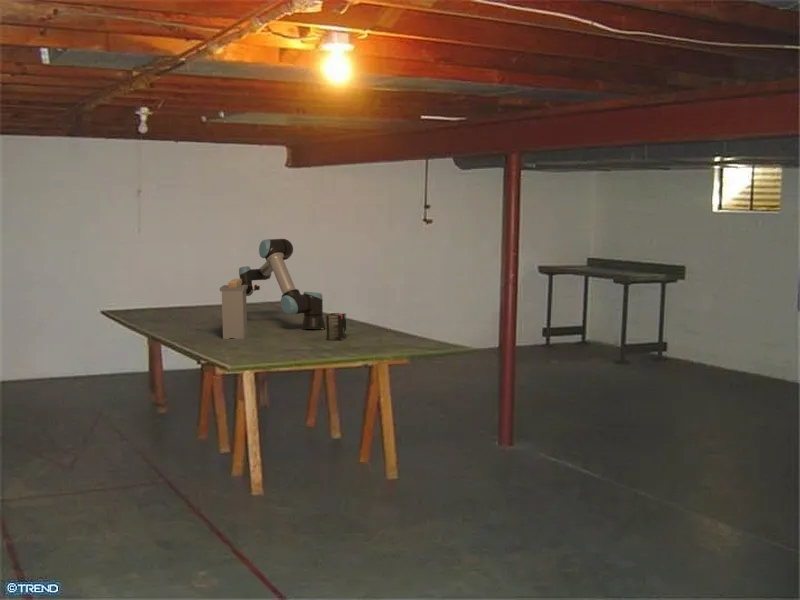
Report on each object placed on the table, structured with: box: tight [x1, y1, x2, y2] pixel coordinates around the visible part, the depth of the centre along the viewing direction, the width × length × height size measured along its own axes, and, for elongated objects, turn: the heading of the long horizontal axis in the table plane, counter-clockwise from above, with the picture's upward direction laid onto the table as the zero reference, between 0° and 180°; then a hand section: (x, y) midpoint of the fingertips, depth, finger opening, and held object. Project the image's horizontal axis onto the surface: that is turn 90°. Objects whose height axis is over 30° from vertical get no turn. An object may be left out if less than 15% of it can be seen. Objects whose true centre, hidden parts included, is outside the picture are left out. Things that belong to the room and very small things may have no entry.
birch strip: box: [227, 278, 242, 288], centre depth 533 cm, size 28×4×3 cm, turn 3°
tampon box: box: [325, 312, 347, 341], centre depth 518 cm, size 11×9×15 cm
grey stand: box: [219, 284, 248, 340], centre depth 529 cm, size 18×14×30 cm
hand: (242, 286), depth 566 cm, fingers open, 13 cm apart
